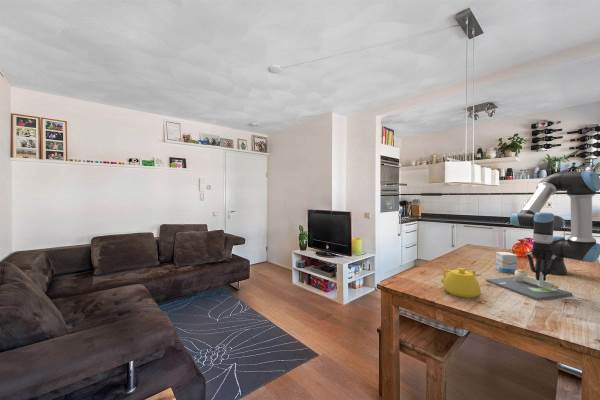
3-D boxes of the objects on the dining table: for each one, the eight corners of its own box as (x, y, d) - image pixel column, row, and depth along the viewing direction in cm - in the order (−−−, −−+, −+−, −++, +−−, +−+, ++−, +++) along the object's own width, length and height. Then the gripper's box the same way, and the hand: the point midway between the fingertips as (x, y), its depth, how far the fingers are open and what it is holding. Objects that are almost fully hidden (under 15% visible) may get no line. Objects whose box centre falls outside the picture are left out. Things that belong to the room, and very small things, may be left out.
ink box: (517, 273, 164) (517, 255, 164) (502, 272, 166) (502, 254, 165) (509, 269, 173) (509, 252, 172) (494, 268, 174) (495, 251, 174)
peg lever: (512, 279, 148) (512, 269, 148) (518, 278, 149) (518, 268, 149) (554, 292, 130) (554, 280, 129) (560, 290, 131) (560, 279, 131)
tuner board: (518, 278, 155) (518, 275, 155) (572, 295, 130) (572, 292, 130) (486, 281, 149) (486, 278, 149) (536, 300, 124) (536, 297, 124)
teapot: (468, 302, 123) (469, 275, 122) (432, 288, 139) (432, 265, 139) (490, 293, 132) (491, 269, 132) (454, 282, 149) (455, 260, 148)
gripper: (529, 242, 133) (526, 286, 134) (562, 244, 127) (559, 291, 129) (524, 239, 140) (522, 281, 141) (555, 242, 134) (553, 286, 135)
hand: (540, 286), depth 135 cm, fingers closed
